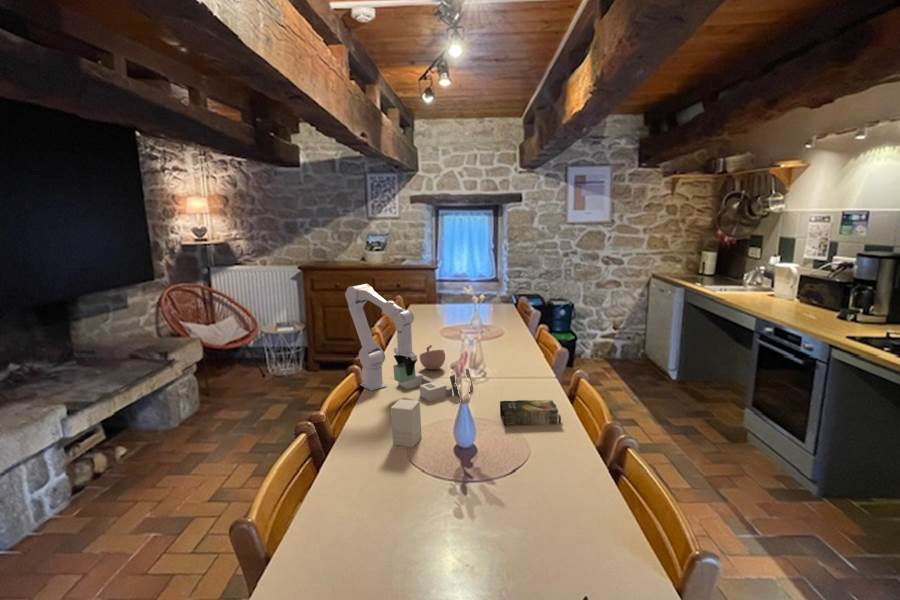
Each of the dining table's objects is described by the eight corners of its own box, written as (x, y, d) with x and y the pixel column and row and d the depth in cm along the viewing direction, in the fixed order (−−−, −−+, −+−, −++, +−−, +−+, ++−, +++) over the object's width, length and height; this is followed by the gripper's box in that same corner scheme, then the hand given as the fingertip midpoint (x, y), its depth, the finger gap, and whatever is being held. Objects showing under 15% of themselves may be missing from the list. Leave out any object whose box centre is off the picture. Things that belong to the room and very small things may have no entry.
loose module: (394, 379, 188) (393, 365, 187) (409, 375, 192) (408, 361, 191) (400, 383, 184) (399, 368, 183) (415, 378, 188) (414, 363, 187)
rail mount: (397, 384, 202) (396, 373, 201) (417, 378, 208) (416, 368, 207) (431, 402, 181) (431, 390, 180) (452, 395, 187) (452, 384, 186)
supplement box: (422, 437, 153) (420, 400, 150) (413, 447, 146) (411, 409, 144) (401, 434, 155) (400, 398, 153) (392, 444, 148) (389, 407, 146)
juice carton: (555, 412, 169) (555, 397, 168) (562, 425, 159) (562, 408, 158) (499, 415, 169) (499, 399, 167) (503, 427, 159) (503, 411, 158)
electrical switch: (460, 397, 185) (458, 375, 184) (450, 396, 188) (447, 373, 187) (474, 390, 192) (472, 368, 191) (464, 389, 195) (462, 367, 194)
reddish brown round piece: (439, 363, 228) (438, 341, 226) (449, 370, 217) (449, 347, 215) (416, 367, 223) (415, 344, 221) (426, 375, 212) (425, 350, 210)
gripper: (387, 339, 189) (388, 371, 191) (405, 346, 177) (406, 380, 180) (402, 336, 193) (403, 367, 195) (420, 343, 181) (422, 376, 184)
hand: (406, 373), depth 188 cm, fingers closed on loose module, 5 cm apart
